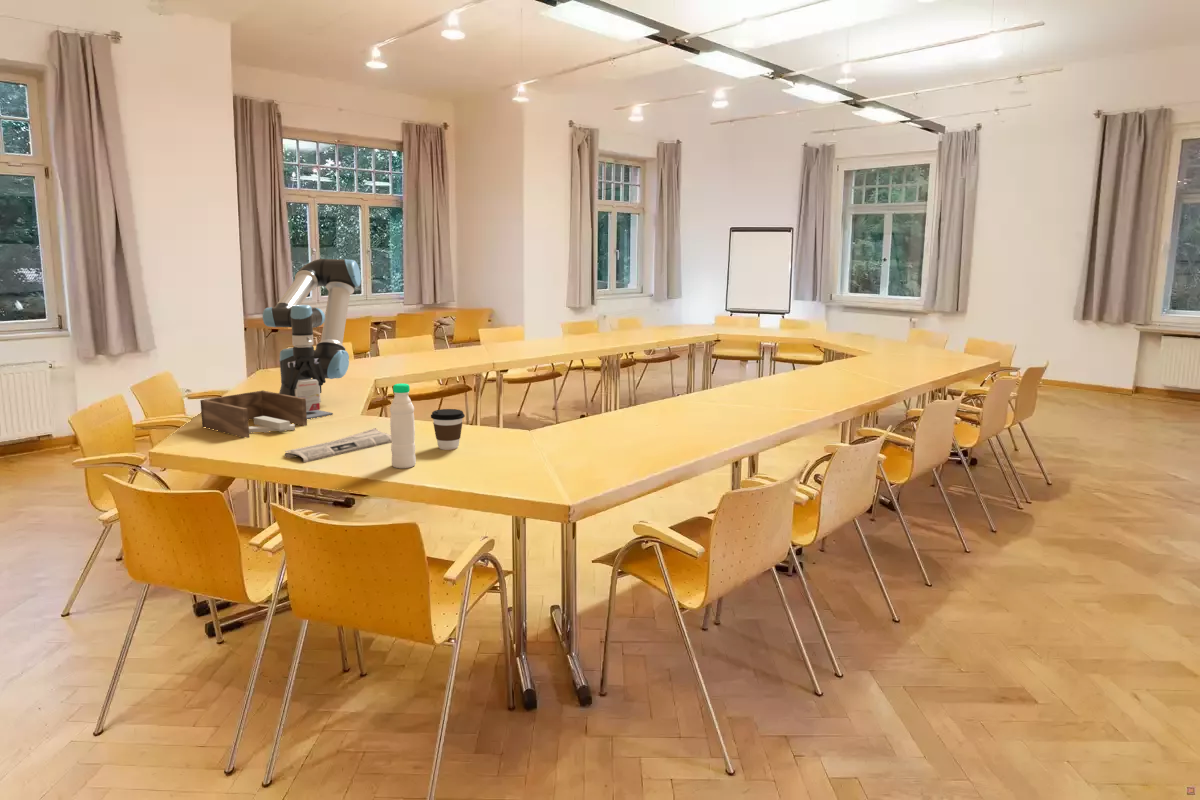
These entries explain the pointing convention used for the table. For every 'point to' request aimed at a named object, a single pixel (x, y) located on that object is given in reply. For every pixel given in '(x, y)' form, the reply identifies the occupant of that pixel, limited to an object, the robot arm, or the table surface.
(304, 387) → the ink box
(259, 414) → the walnut open-sided box
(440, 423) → the coffee cup
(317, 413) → the grey mat
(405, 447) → the water bottle
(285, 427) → the upper offcut
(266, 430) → the lower offcut
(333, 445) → the newspaper
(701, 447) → the table surface
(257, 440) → the table surface
